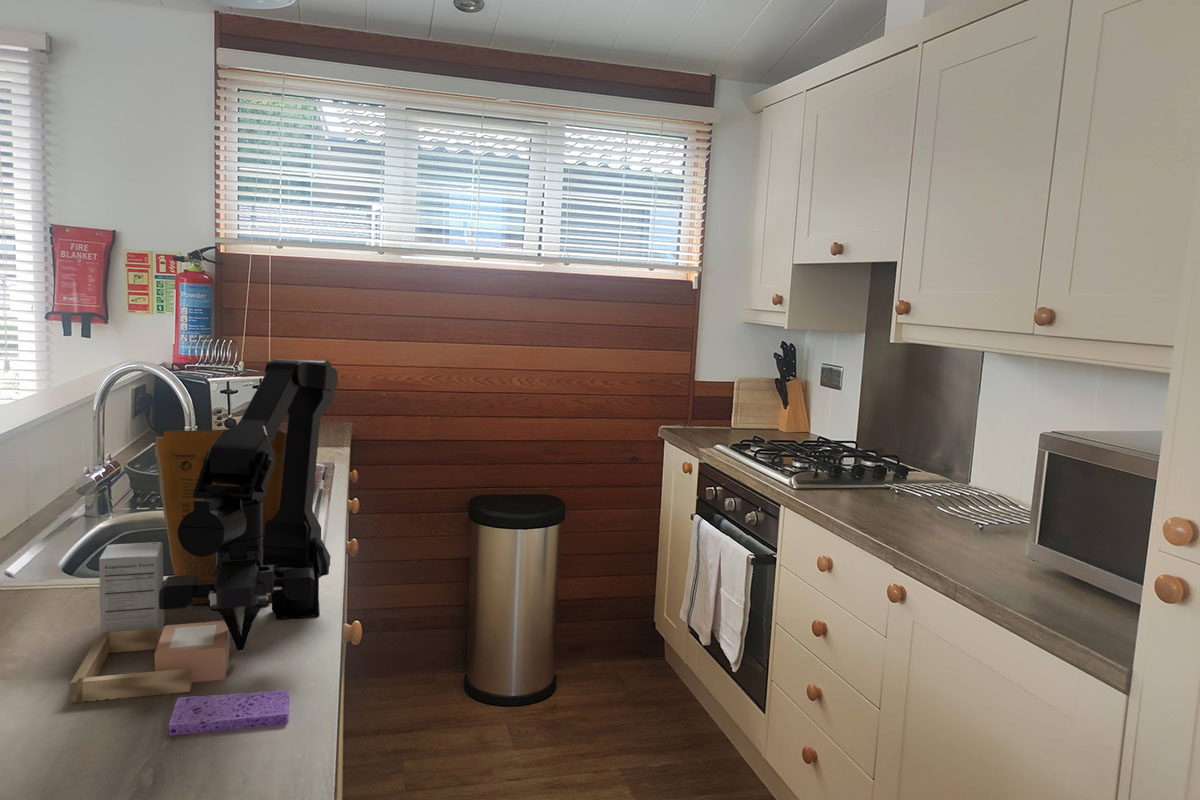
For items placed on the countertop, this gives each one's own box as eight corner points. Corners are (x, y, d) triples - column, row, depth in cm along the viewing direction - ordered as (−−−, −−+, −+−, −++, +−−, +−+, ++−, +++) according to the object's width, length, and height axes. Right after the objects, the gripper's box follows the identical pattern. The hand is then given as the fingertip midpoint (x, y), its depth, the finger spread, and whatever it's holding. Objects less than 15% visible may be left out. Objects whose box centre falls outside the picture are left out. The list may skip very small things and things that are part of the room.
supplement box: (108, 628, 125) (107, 543, 124) (165, 624, 128) (164, 540, 127) (99, 648, 118) (97, 558, 117) (159, 642, 121) (158, 554, 120)
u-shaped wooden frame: (204, 641, 122) (203, 624, 122) (190, 691, 106) (189, 672, 106) (100, 650, 118) (100, 632, 117) (70, 703, 102) (70, 682, 102)
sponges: (178, 712, 102) (177, 696, 102) (290, 701, 106) (291, 687, 106) (167, 740, 96) (167, 724, 95) (288, 728, 99) (288, 713, 99)
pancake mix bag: (281, 608, 136) (282, 431, 134) (153, 608, 134) (152, 428, 131) (291, 595, 142) (292, 426, 140) (169, 595, 140) (169, 423, 138)
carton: (229, 651, 120) (229, 619, 119) (225, 681, 110) (224, 646, 110) (165, 657, 117) (164, 625, 116) (155, 688, 108) (154, 653, 107)
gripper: (151, 557, 103) (153, 682, 105) (316, 547, 110) (315, 666, 111) (164, 533, 114) (165, 648, 115) (313, 526, 120) (313, 635, 122)
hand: (240, 650), depth 116 cm, fingers closed
